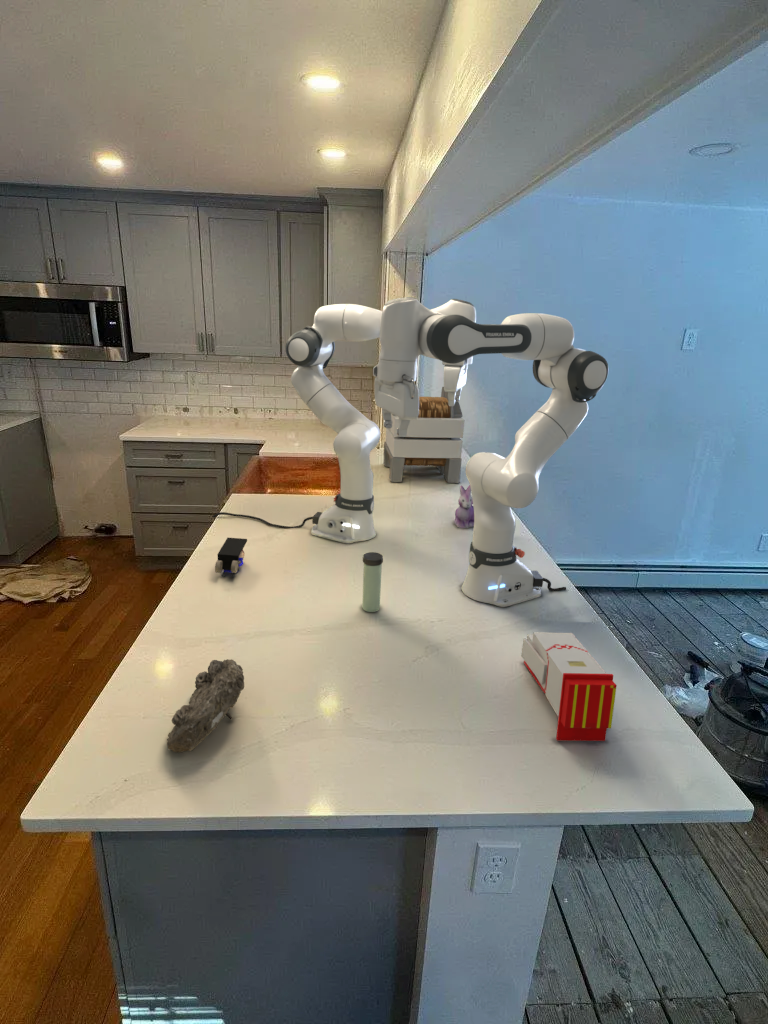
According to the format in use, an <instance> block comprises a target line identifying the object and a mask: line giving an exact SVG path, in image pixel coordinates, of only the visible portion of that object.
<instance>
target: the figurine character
mask: <svg viewBox="0 0 768 1024" xmlns="http://www.w3.org/2000/svg"><path fill="white" fill-rule="evenodd" d="M247 542H248V538H240V537H226V539H225V541H224V543H223V544H222V546H221V547H220V549H219V551H218V552H217V560H216V562H215V564H214V572H215V573H221V577H222V578H224V577H225V576H226V574H227V573H230V574H231V573H232V574H231V578H234V577H235V575H236V573H237V572H239V571H240V567H242V566H243V565H244V564H245V562H244V558H245V551H244V547H245V546H246V544H247Z"/></svg>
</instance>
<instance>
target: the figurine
mask: <svg viewBox="0 0 768 1024" xmlns="http://www.w3.org/2000/svg"><path fill="white" fill-rule="evenodd" d="M459 495H460V496H459V498H458V505H459V506H458V507H457V508H456V510H455V512H454V522H453V523H454V525H456V527H457V528H460V529H468V528H474V507H473V500H472V493H471V487H470V484H469V485H468V486H467V487H466V489H465V488H464V486H463V485H459Z"/></svg>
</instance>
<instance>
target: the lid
mask: <svg viewBox="0 0 768 1024" xmlns="http://www.w3.org/2000/svg"><path fill="white" fill-rule="evenodd" d="M362 563H363V565H364V564H366V565H370V566H377V565H380V564H382V565H383V563H384V556H383V554H381V553H379V552H376V551H369V552H365V553H364V554H363V555H362Z"/></svg>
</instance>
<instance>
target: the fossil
mask: <svg viewBox="0 0 768 1024" xmlns="http://www.w3.org/2000/svg"><path fill="white" fill-rule="evenodd" d="M243 670H244V669H243V667H242V665H240V664H237V662H236V661H235V660H234V659H232V658H231V659H227V658H226V659H224V660H223V661H222V660H217V659H212V660H211V661H210V663H209V665H208V666H207V671H201V672H199V673H198V674H197V675H196V676H195V680H194V684H195V685H194V687H195V689H194V690H193V693H192V694H191V697H190V698H189V700H188V704H184V705H182V706H181V707H180V709H177V710H176V711H175V713H174V715H173V716H172V718H171V723H172V724H173V727H172V730H171V731H170V732H168V734H167V738H166V741H167V742H166V745H167V749H168V750H169V751H173V752H174V753H176V754H178V753H182V752H188V751H189V752H192V751H193V750H195V748H196V747H197V746H199V744H200V743H201V742H203V741H204V740H205V739H206V738H207V737H208V736H209V735H210V734H211V733H212V732H214V730H215V729H217V727H218V726H219V724H220V722H221V721H222V720H223V719H224V718H225V716H226V717H227V719H229V720H233V717H232V715H230V714H229V710H230V709H231V708H234V706H235V704H236V703H237V702H238V699H239V697H240V695H241V693H242V691H243V690H245V689H244V688H245V675H244V671H243Z"/></svg>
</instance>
